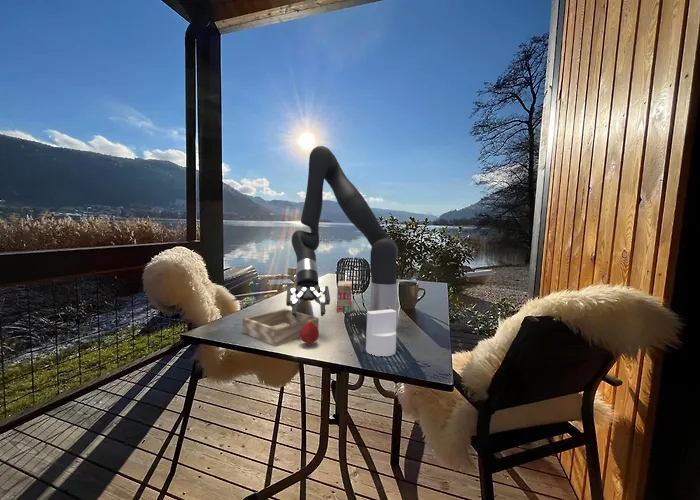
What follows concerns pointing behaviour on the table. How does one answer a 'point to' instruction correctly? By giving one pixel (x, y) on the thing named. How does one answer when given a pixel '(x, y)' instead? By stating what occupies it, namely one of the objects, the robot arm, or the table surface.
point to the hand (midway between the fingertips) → (309, 315)
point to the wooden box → (276, 336)
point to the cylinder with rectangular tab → (381, 332)
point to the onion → (309, 333)
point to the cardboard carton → (344, 296)
